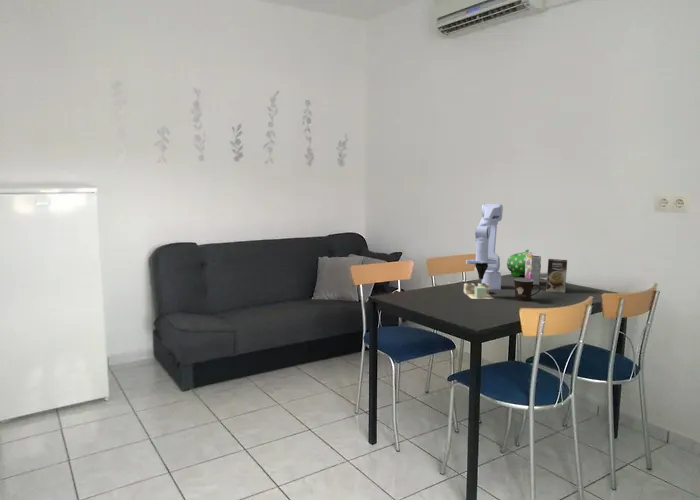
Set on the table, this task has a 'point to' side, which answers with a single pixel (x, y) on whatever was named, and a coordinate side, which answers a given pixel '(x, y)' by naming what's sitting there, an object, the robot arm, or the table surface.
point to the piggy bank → (517, 263)
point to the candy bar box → (533, 267)
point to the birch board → (480, 297)
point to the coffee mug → (524, 289)
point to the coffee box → (556, 275)
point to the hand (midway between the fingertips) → (480, 279)
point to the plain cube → (480, 291)
